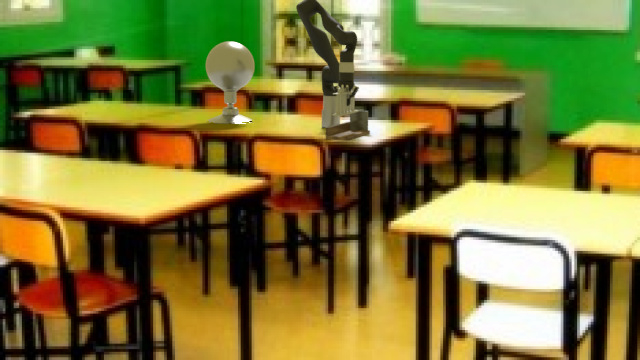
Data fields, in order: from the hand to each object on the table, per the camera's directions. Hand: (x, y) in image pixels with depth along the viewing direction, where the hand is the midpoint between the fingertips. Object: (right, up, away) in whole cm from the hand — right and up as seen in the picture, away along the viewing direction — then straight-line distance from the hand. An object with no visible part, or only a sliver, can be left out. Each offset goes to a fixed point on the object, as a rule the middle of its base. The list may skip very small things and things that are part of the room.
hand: (346, 105), depth 509 cm
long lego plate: (0, -4, 0) cm, 4 cm away
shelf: (+1, -15, +4) cm, 16 cm away
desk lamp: (-64, -4, +69) cm, 94 cm away
